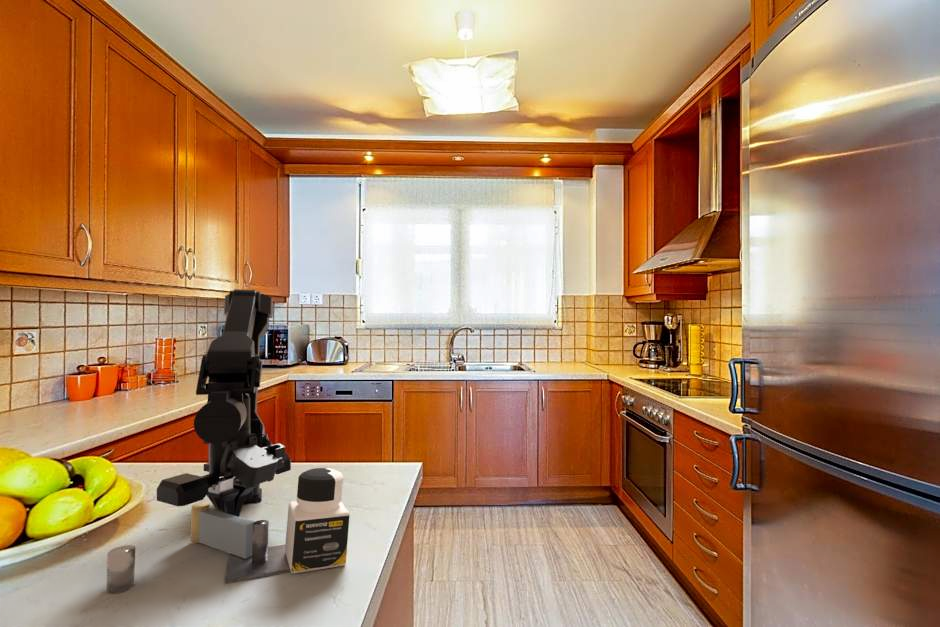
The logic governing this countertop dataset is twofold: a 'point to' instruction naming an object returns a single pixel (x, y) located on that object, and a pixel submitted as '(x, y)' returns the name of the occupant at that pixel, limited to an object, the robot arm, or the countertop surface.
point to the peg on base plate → (258, 558)
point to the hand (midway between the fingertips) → (230, 531)
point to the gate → (221, 530)
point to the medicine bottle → (317, 522)
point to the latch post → (120, 569)
